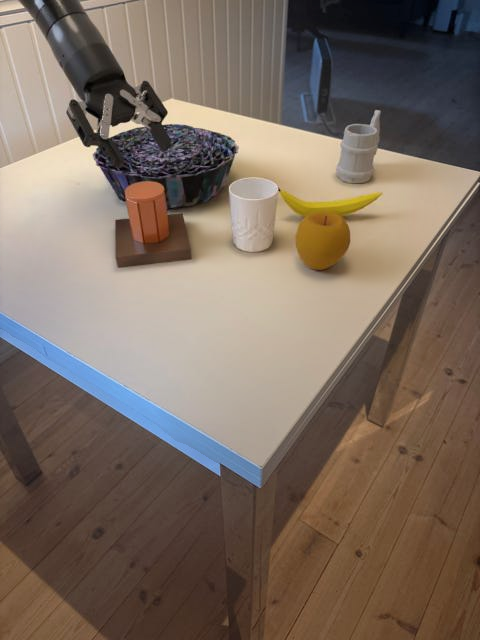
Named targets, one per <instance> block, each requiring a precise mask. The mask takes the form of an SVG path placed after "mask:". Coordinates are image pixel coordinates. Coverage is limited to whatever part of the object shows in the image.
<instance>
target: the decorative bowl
mask: <svg viewBox="0 0 480 640" xmlns="http://www.w3.org/2000/svg"><path fill="white" fill-rule="evenodd" d="M162 125H163V127H164V129H165V130H166V132H167V134H168V135H169V137H170V139H171V142H170V143H171V146H170V147H169V149H168V150H167V151H165V152H162V151H161V149H160V148H159V146H158V144H157V143H156V141H155V139H154V138H153V136H152V134H151V133H150V131H151V130H150V129H148V128H147V127H145V126H139V127H135V128H132V129H128V130H126V131H122V132H119V133H117V134H114V135H113V136H109V137H108V138H109V139H111V138H112V140H113V141H114V143H115V145H116V146H117V148H118V150H119V151H120V153H121V155H122V156H123V158H124V160H125V163H124V165H123V166H122V167H121V168H118V169H117V168H116V167H115V166H112V165H111V164H110V163H109V161H108V160H107V158H106V156H105V155H104V153H103V151H102V150H101V148H100V147H98V146H97V148H96V149H95V151H94V152H93V153H92V158H93V161H95V165H96V166H97V167H99V169H100V170H101V172H102V173H103V175H104V177H105V179H106V180H107V182H108V183H109V184H110V186H111V188H112V190H113V192H114V193H115V195H116V196H117V198H118V199H119V201H124V202H126V197H125V189H126V188H127V187H128V186H130V185H132V184H134V183H137V182H143V181H152V182H157V183H160V184H161V185H163V187H164V191H165V198H166V206H167V210H168V209H180V208H183V207H184V208H185V207H193V206H195V205H196V204H205V203H206V202H208V201H210V199H211V198H214V197H216V196H217V195H219V193H220V190H222V189H224V187H225V186H226V184H227V182H228V179H229V176H230V171H231V169H232V166H233V163H234V160H235V156H236V155H237V154H238V153H239V149H240V146H239V145H237V143H236V141H235V140H234V139H233V138H232V137H231V136H229V135H226V134H223V133H220V132H217V131H212V130H209V129H205V128H201V127H194V126H191V125H188V124H177V123H166V124H162Z"/></svg>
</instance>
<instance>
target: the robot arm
mask: <svg viewBox="0 0 480 640" xmlns="http://www.w3.org/2000/svg"><path fill="white" fill-rule="evenodd" d="M17 2H19V3H20V4H21V6H22V7H23V8H24V9H25V10H26V12H27V13H28V14H29V15H30V17H31V18H32V19H33V21H34V22H35V24H36V25H37V27H38V29H39V30H40V32H41V33H42V35H43V37H44V38H45V41H46V42H47V43H48V45H49V47H50V50H51V52H52V54H53V57H54V58H55V60H56V62H57V63H58V65H59V67H60V68H61V70H62V72H63V73H64V75H65V77H66V78H67V80H68V81H69V84H70V85H71V86H72V88H73V89H74V91H75V93H76V95H77V96H78V98H79V99H80V100H81V101H77V100H76V99H73V98H71V100H70V101H69V103H68V105H67V108H66V112H65V114H66V115H67V118H68V119H69V121H70V122H71V125H72V127H73V128H74V130H75V132H76V134H77V135H78V137H79V139H80V141H81V143H82V145H83V146H84V147H86V148H90V147H92V146H94V147H97V148H98V147H100V148H101V150H102V151H103V153H104V155H105V156H106V158H107V160H108V161H109V163H110V164H111V165H112V166H115V167H116V168H117V169H118V168H121V167H122V166H123V165H124V163H125V160H124V158H123V156H122V155H121V153H120V151H119V150H118V148H117V146H116V145H115V143H114V141H113V140H112V138H111V139H109V138H110V127H112V128H114V127H116V126H118V125H120V124H127V123H129V122H133V123H135V124H136V125H142V126H143V127H147V128H148V129H150V130H151V131H150V133H151V134H152V136H153V138H154V139H155V141H156V143H157V144H158V146H159V148H160V149H161V151H162V152H165V151H167V150H168V149H169V147H170V146H171V143H170V142H171V139H170V137H169V135H168V134H167V132H166V130H165V129H164V127H163V125H164V124H162V123H163V122H164V120H165V119H166V117H167V116H168V115H169V112H168V110H167V108H166V106H165V105H164V104H163V103H164V102H162V100H161V99H160V97H159V96H158V94H157V93H156V91H155V90H154V88H153V87H152V85H151V84H150V82H149V81H148V80H143V81H142V82H141V83H140V85H137V86H135V87H133V86H132V85H131V84H129V82H128V81H127V79H126V75H125V72H124V70H123V69H122V66H121V65H120V63H119V61H118V60H117V58H116V56H115V55H114V53H113V52H112V50H111V48H110V47H109V45H108V43H107V41H106V40H105V38H104V37H103V35H102V34H101V32H100V30H99V29H98V27H97V26H96V25H95V24H94V22H93V21H92V19H91V18H90V17H89V14H88V13H87V12H86V10H85V8H84V6H83V5H82V3H81V2H80V0H17ZM137 98H138V99H137ZM136 110H137V111H138V113H137V112H136ZM87 114H88V115H91V116H92V117H94V118H95V119H96V132H95V131H94V129H93V127H92V125H91V123H90V121H89V120H88V118H87V116H86V115H87Z"/></svg>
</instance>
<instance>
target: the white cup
mask: <svg viewBox="0 0 480 640" xmlns="http://www.w3.org/2000/svg"><path fill="white" fill-rule="evenodd" d="M278 187H279V186H278V185H277V183H276V182H274V181H272V180H270V179H268V178H263V177H258V176H257V177H255V176H254V177H253V176H252V177H243V178H239V179H237V180H235V181H233V182H232V183H230V184H229V186H228V197H229V212H230V213H229V214H230V222H231V229H232V241H233V244H234V245H235V247H236V248H237V249H239V250H241V251H243V252H247V253H258V252H263V251H265V250H267V249H269V248H270V247H271V246H272V244H273V239H274V230H275V224H276V218H277V207H278V197H279V191H278Z"/></svg>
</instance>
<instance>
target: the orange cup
mask: <svg viewBox="0 0 480 640" xmlns="http://www.w3.org/2000/svg"><path fill="white" fill-rule="evenodd" d="M125 197H126V201H125V204H126V210H127V215H128V218H129V221H130V226H131V232H132V238H133V239H134V240H136V241H138V242H141V243H145V244H148V243H157V242H159V241H160V242H161V241H162V240H164V239H165V238H167V237H168V236H169V235H170V232H169V223H168V209H167V206H166V198H165V191H164V187H163V185H161V184H160V183H157V182H152V181H143V182H137V183H134V184H132V185H130V186H128V187H127V188H126V189H125Z"/></svg>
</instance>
